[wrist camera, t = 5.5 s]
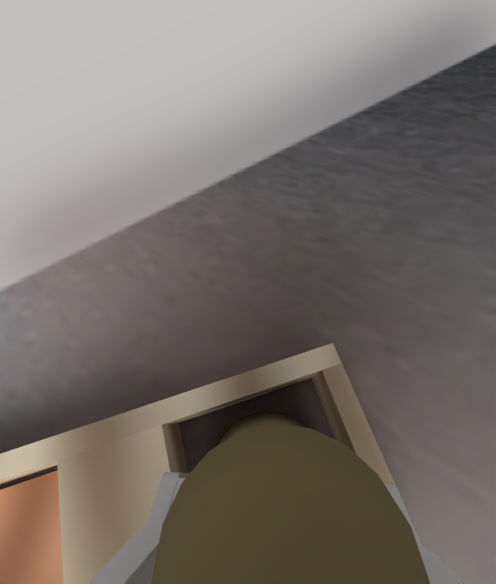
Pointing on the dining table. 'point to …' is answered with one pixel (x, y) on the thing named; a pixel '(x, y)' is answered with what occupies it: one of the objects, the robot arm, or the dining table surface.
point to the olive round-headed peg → (285, 514)
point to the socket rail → (139, 469)
